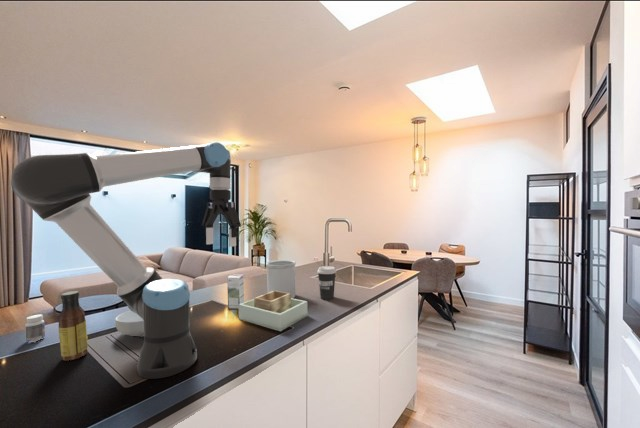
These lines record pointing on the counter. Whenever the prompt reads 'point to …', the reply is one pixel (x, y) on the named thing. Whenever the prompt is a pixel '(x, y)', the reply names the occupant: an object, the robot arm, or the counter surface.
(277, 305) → the small wooden crate
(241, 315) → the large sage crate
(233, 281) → the syrup box
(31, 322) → the pill bottle
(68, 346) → the sauce bottle
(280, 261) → the utensil holder
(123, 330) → the cereal bowl
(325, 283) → the coffee cup
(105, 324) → the counter surface
